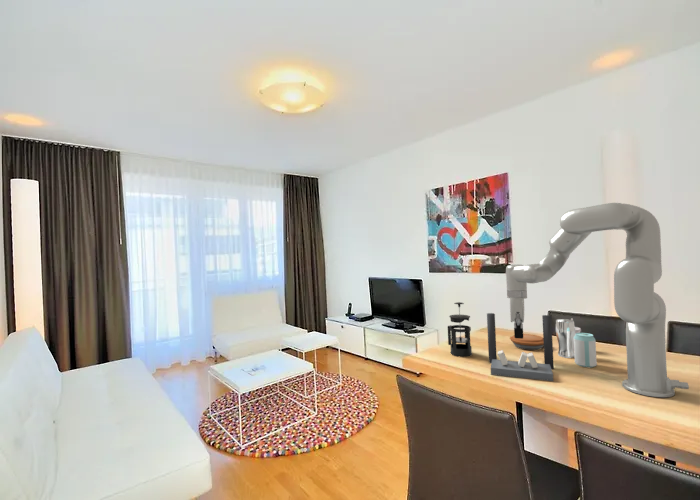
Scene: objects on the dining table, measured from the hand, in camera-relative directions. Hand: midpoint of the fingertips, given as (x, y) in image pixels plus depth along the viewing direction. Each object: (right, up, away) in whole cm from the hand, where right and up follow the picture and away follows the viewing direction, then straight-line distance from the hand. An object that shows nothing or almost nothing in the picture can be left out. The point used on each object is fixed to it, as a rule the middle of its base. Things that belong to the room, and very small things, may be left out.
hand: (518, 335), depth 142 cm
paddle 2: (-2, -8, -17) cm, 19 cm away
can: (+22, -10, -9) cm, 25 cm away
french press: (-21, -11, +12) cm, 26 cm away
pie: (+14, -10, +19) cm, 25 cm away
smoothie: (+30, -9, +11) cm, 33 cm away
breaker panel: (-7, -10, -15) cm, 19 cm away
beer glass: (+22, -10, +3) cm, 24 cm away
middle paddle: (-7, -8, -15) cm, 18 cm away
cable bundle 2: (+6, -10, -11) cm, 16 cm away
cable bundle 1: (-12, -11, -2) cm, 16 cm away
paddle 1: (-11, -8, -12) cm, 19 cm away
